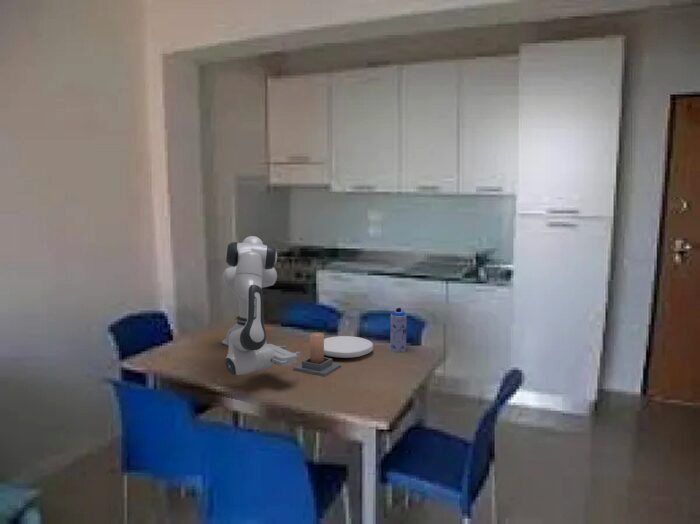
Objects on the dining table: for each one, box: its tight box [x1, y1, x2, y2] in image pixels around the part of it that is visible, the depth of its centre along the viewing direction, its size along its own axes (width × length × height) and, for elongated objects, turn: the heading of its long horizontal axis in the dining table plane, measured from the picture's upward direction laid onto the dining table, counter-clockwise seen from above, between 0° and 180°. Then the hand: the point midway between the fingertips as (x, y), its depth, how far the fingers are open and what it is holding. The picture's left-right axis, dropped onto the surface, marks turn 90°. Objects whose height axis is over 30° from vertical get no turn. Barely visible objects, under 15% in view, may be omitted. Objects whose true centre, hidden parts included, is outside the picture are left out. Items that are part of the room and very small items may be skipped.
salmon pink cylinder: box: [309, 331, 325, 364], centre depth 254 cm, size 6×6×14 cm
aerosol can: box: [389, 307, 407, 353], centre depth 279 cm, size 8×8×20 cm
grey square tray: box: [292, 356, 342, 377], centre depth 255 cm, size 16×13×4 cm
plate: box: [324, 335, 374, 359], centre depth 277 cm, size 28×6×27 cm
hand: (293, 350), depth 246 cm, fingers open, 8 cm apart
